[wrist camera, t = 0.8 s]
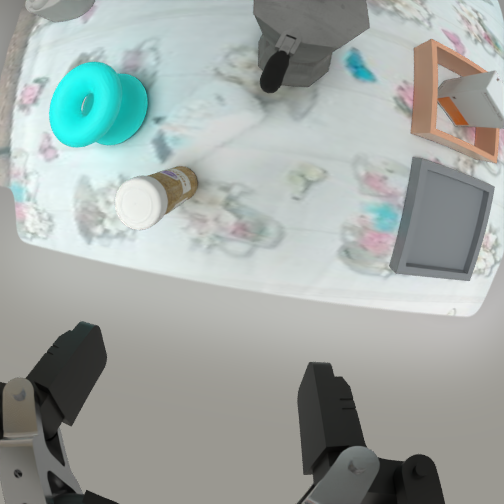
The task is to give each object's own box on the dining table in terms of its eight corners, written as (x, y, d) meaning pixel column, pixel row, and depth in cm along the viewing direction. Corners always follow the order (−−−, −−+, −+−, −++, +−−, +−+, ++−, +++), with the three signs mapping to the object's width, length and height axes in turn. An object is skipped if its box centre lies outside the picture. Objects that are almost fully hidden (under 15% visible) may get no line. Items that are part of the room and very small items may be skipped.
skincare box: (431, 96, 27) (485, 86, 16) (443, 80, 26) (495, 68, 15) (455, 128, 28) (510, 130, 17) (466, 111, 27) (520, 110, 16)
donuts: (36, 101, 20) (95, 42, 18) (81, 105, 30) (133, 62, 28) (62, 166, 23) (127, 108, 21) (106, 158, 33) (163, 117, 31)
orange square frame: (414, 48, 25) (431, 38, 20) (479, 82, 25) (498, 79, 20) (410, 133, 30) (430, 132, 25) (476, 159, 30) (496, 163, 25)
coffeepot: (278, 7, 24) (287, -78, 8) (345, 35, 25) (402, -32, 9) (229, 100, 30) (193, 52, 13) (300, 129, 31) (340, 110, 14)
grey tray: (412, 157, 31) (421, 158, 28) (485, 183, 31) (494, 186, 28) (389, 266, 37) (396, 273, 34) (461, 274, 37) (469, 281, 34)
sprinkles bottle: (200, 168, 33) (163, 181, 20) (195, 203, 35) (158, 235, 22) (166, 164, 33) (114, 175, 20) (162, 198, 34) (112, 227, 22)
